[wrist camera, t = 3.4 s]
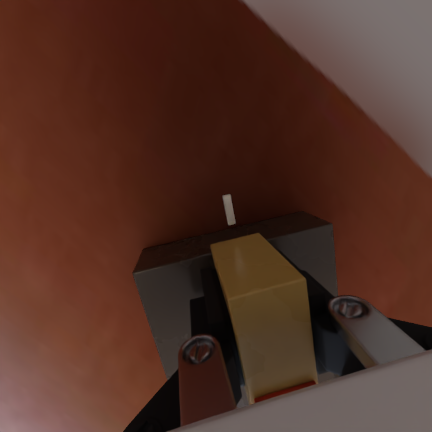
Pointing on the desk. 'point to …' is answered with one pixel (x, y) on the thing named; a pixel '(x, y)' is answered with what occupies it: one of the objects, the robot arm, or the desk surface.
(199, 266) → the plate
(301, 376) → the block
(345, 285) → the desk surface
